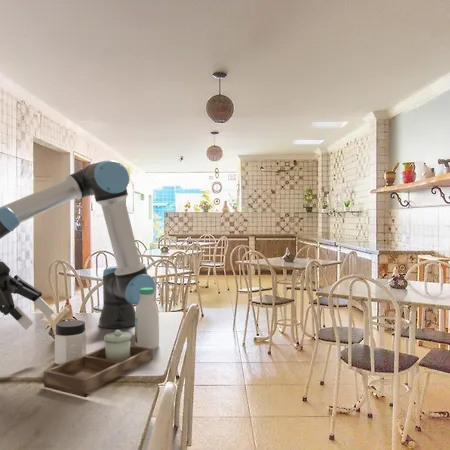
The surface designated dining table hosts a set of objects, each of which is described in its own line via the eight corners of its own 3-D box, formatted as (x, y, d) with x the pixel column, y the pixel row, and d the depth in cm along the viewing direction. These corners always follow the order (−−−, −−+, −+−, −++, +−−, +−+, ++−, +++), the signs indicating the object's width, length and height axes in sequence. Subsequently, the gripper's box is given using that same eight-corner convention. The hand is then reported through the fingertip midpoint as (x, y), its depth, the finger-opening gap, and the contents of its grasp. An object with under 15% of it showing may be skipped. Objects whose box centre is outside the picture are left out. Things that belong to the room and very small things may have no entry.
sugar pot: (116, 356, 128) (116, 325, 128) (136, 360, 125) (136, 328, 124) (98, 364, 121) (98, 331, 121) (119, 369, 118) (119, 334, 118)
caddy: (115, 355, 132) (115, 342, 132) (152, 362, 126) (152, 348, 126) (44, 386, 108) (44, 371, 108) (85, 397, 102) (84, 380, 102)
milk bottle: (163, 347, 140) (163, 287, 140) (150, 354, 133) (149, 291, 133) (144, 344, 144) (144, 285, 143) (130, 350, 137) (129, 289, 136)
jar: (58, 370, 119) (57, 328, 119) (52, 362, 126) (51, 322, 126) (90, 364, 124) (89, 324, 124) (82, 356, 131) (82, 318, 131)
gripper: (5, 272, 137) (51, 318, 137) (-47, 284, 112) (9, 341, 112) (21, 256, 137) (67, 302, 137) (-28, 265, 112) (29, 321, 112)
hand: (41, 320), depth 125 cm, fingers open, 13 cm apart
